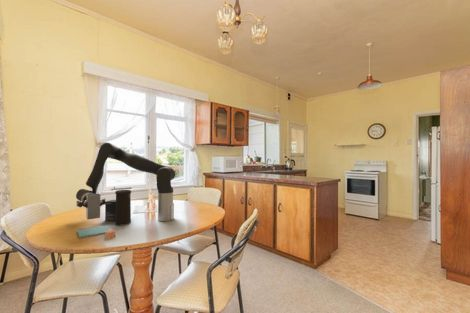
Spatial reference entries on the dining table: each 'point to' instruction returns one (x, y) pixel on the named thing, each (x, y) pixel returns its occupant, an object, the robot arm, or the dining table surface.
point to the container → (123, 207)
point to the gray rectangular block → (93, 206)
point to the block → (110, 234)
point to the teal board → (92, 231)
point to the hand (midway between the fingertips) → (94, 205)
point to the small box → (110, 210)
